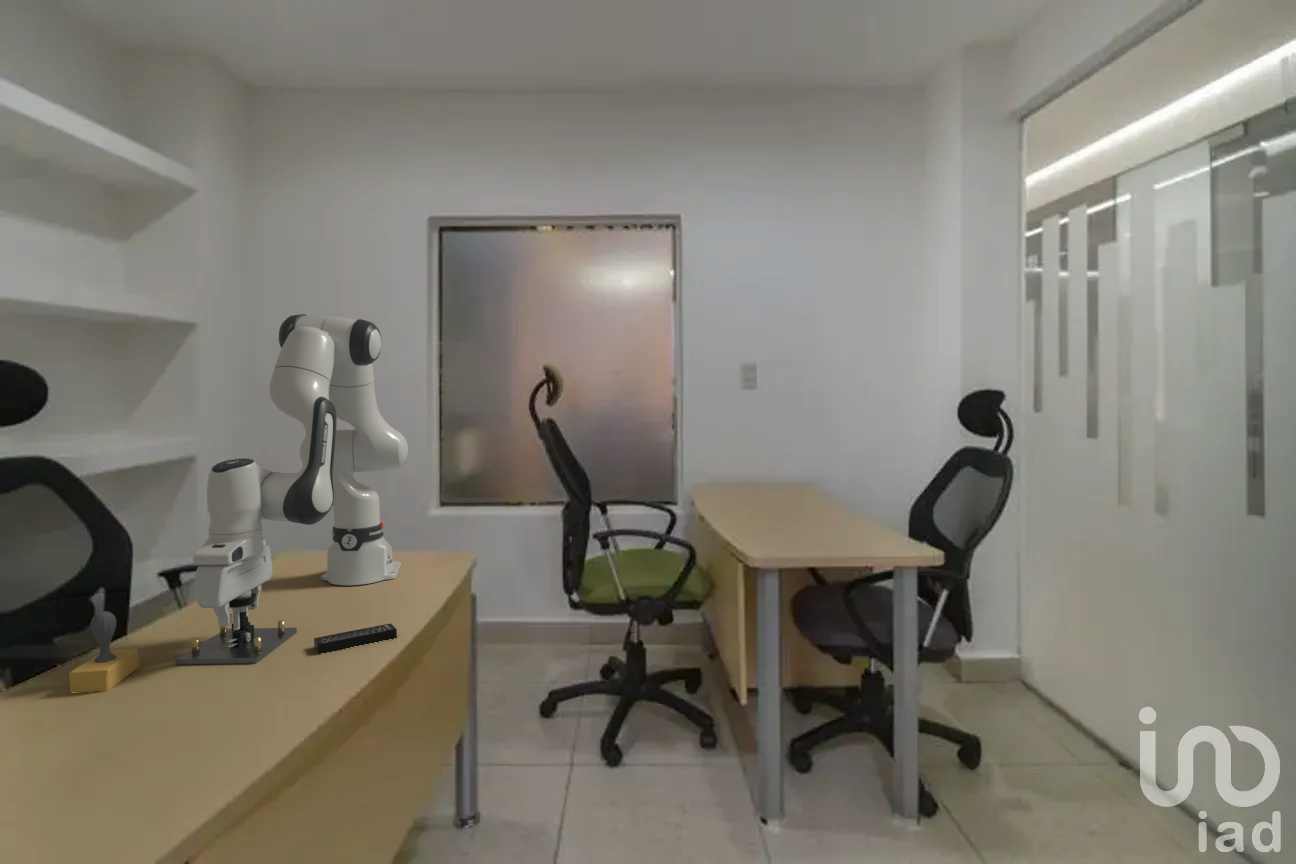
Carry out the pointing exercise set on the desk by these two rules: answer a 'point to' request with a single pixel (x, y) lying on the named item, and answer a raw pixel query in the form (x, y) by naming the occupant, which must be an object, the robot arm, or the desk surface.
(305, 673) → the desk surface
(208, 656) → the chassis
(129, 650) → the rubber stamp
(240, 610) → the push button
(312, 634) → the desk surface
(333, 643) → the multiport hub
